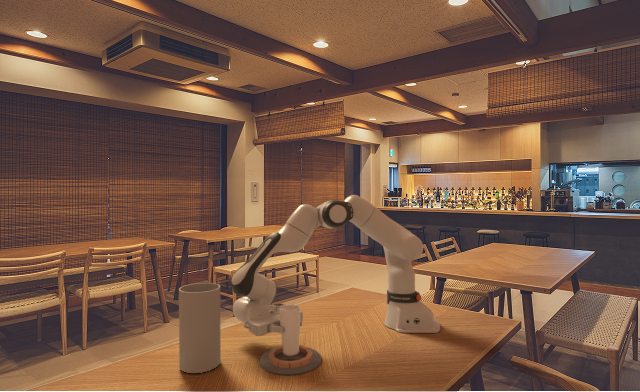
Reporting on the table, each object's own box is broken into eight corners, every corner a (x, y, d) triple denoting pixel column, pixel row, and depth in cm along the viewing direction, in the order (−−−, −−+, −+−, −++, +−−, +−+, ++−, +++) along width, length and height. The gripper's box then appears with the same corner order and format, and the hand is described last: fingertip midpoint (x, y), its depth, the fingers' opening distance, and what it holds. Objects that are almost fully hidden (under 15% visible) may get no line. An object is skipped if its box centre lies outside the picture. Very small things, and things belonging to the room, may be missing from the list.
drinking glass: (298, 357, 118) (296, 310, 118) (278, 357, 119) (276, 309, 120) (303, 349, 124) (301, 304, 125) (284, 349, 126) (282, 304, 126)
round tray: (326, 350, 129) (326, 344, 129) (312, 378, 110) (312, 370, 110) (272, 345, 134) (272, 339, 134) (249, 371, 115) (249, 363, 114)
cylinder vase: (182, 378, 110) (181, 294, 110) (177, 362, 121) (176, 285, 121) (224, 369, 116) (224, 289, 116) (216, 354, 127) (215, 281, 127)
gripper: (240, 315, 123) (267, 325, 114) (286, 302, 138) (313, 310, 129) (240, 334, 123) (267, 346, 114) (286, 319, 138) (313, 328, 129)
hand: (292, 327), depth 121 cm, fingers closed on drinking glass, 6 cm apart
